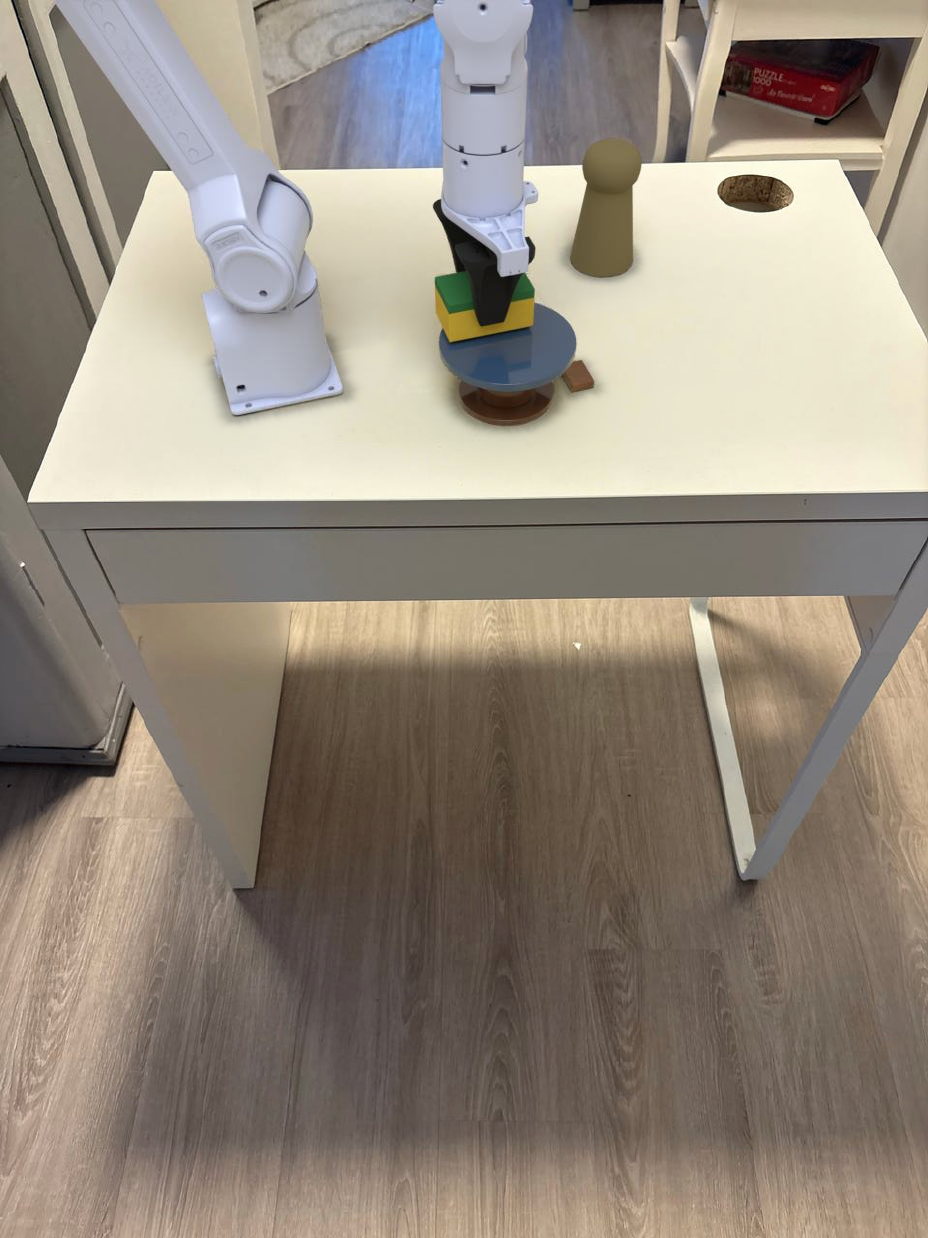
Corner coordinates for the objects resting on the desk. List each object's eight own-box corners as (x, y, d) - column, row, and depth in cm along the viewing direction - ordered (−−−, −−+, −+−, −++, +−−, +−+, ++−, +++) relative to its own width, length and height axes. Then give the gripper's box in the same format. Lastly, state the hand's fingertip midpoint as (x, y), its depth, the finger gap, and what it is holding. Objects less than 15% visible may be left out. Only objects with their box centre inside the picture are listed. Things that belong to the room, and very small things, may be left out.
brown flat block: (594, 380, 83) (593, 389, 83) (581, 359, 84) (581, 367, 85) (572, 385, 82) (571, 393, 83) (560, 363, 84) (559, 372, 85)
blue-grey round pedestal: (462, 450, 79) (461, 396, 74) (425, 366, 85) (422, 312, 81) (591, 422, 80) (597, 368, 76) (545, 342, 87) (548, 288, 82)
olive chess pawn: (632, 242, 96) (648, 129, 87) (633, 278, 93) (649, 164, 84) (571, 239, 97) (580, 127, 88) (568, 275, 93) (578, 161, 84)
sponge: (449, 342, 78) (448, 305, 75) (435, 313, 80) (434, 276, 77) (533, 325, 79) (535, 288, 76) (517, 297, 81) (518, 260, 78)
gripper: (576, 177, 64) (561, 350, 75) (505, 79, 72) (501, 247, 83) (472, 195, 63) (473, 368, 73) (412, 94, 71) (421, 262, 82)
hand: (482, 305), depth 78 cm, fingers closed on sponge, 4 cm apart
